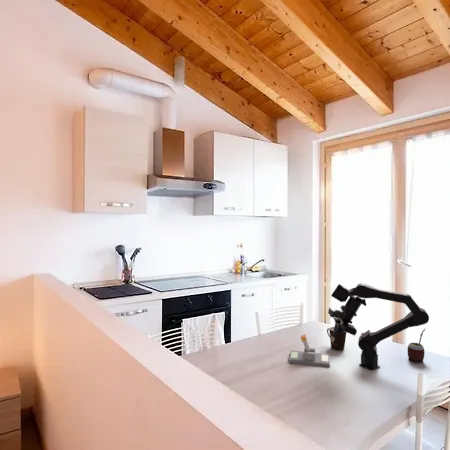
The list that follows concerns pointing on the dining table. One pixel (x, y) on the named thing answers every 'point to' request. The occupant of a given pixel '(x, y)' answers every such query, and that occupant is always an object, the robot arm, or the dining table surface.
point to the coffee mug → (337, 340)
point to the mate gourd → (416, 351)
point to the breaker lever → (305, 343)
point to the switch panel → (316, 363)
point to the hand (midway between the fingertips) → (333, 335)
